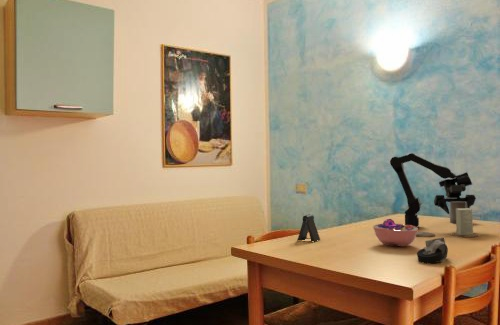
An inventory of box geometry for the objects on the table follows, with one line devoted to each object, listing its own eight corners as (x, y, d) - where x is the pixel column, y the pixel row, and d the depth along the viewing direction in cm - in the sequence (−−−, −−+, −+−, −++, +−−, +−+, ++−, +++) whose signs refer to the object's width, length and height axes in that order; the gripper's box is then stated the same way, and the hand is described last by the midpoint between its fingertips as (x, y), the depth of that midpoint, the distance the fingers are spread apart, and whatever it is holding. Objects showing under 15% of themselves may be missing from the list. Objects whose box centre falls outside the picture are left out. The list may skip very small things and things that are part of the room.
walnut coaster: (451, 236, 203) (451, 235, 203) (453, 232, 213) (453, 231, 213) (477, 238, 198) (477, 236, 198) (478, 234, 207) (478, 232, 207)
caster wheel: (423, 271, 155) (415, 259, 165) (456, 264, 153) (446, 253, 163) (419, 253, 154) (411, 243, 164) (452, 246, 152) (443, 236, 162)
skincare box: (469, 233, 207) (469, 208, 207) (473, 234, 202) (472, 209, 202) (455, 233, 208) (455, 208, 207) (459, 235, 203) (458, 209, 203)
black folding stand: (320, 240, 202) (319, 214, 202) (314, 242, 198) (314, 216, 197) (303, 238, 208) (302, 213, 207) (297, 240, 203) (296, 215, 203)
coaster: (409, 236, 207) (409, 234, 207) (412, 232, 216) (412, 231, 216) (433, 237, 201) (433, 236, 201) (436, 233, 211) (436, 232, 211)
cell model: (399, 252, 173) (398, 224, 173) (364, 244, 191) (364, 218, 191) (428, 247, 181) (428, 220, 181) (392, 239, 199) (392, 215, 199)
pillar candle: (472, 223, 238) (471, 196, 238) (454, 224, 238) (453, 197, 238) (463, 221, 248) (463, 195, 248) (446, 221, 248) (446, 195, 248)
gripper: (435, 179, 219) (442, 203, 208) (474, 178, 216) (483, 202, 205) (431, 193, 227) (437, 217, 216) (468, 192, 224) (477, 217, 213)
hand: (458, 213), depth 212 cm, fingers open, 9 cm apart
